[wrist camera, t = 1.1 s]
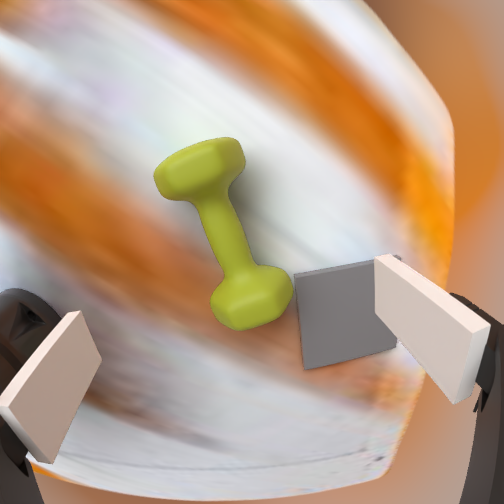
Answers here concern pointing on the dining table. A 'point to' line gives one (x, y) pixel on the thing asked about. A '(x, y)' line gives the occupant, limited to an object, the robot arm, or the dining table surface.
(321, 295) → the trivet
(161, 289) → the dining table surface
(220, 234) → the dumbbell
